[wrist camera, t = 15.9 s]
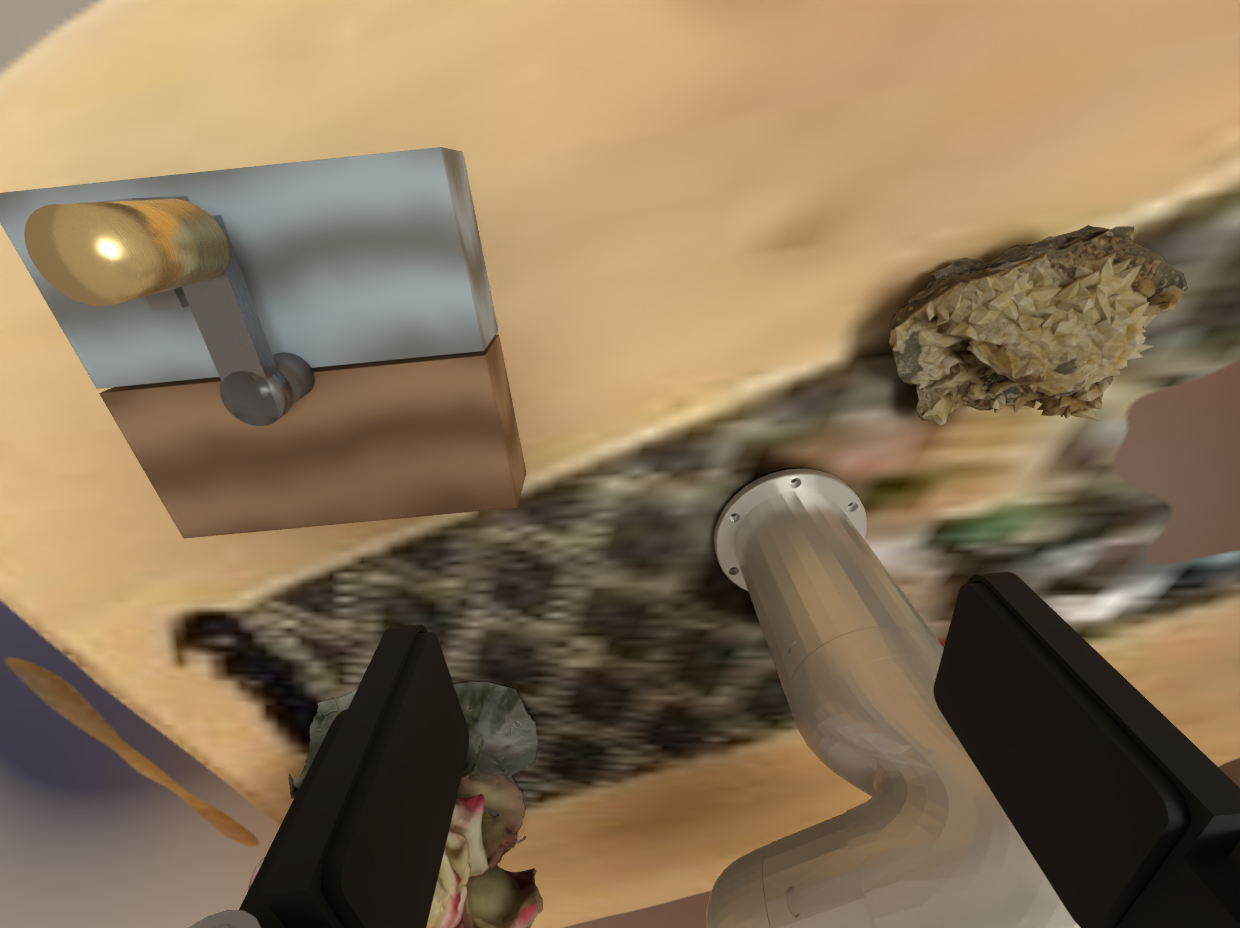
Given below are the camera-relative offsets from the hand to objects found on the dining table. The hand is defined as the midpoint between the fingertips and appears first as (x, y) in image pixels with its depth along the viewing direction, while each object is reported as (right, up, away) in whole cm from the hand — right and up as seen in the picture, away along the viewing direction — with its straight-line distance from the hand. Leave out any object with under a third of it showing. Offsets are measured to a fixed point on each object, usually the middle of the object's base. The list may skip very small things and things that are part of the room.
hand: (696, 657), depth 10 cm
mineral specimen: (+23, +13, +28) cm, 39 cm away
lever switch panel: (-22, +11, +27) cm, 37 cm away
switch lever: (-22, +11, +19) cm, 31 cm away
